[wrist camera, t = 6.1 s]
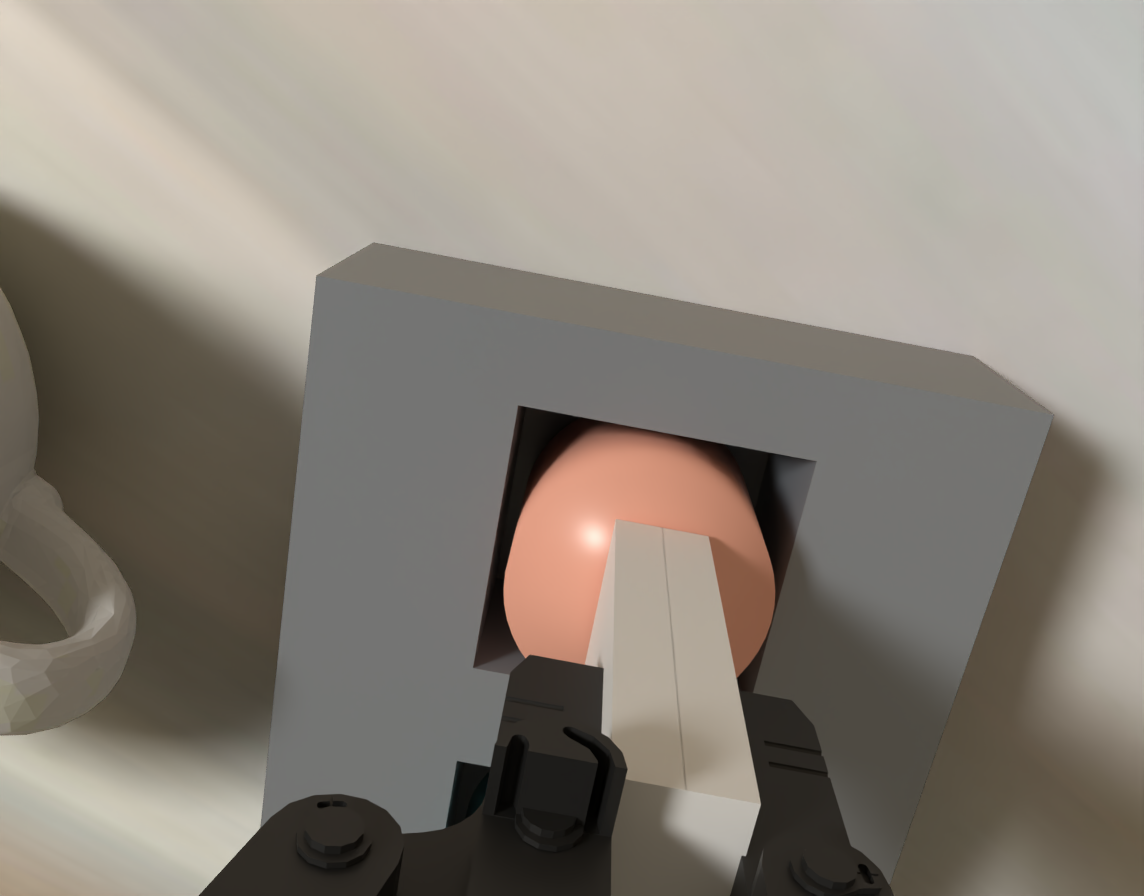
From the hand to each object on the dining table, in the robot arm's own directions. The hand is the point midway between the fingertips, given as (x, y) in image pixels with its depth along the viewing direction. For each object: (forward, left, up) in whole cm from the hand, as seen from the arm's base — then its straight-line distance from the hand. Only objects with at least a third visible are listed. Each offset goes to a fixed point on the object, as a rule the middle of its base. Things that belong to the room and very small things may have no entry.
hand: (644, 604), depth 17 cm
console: (0, -7, -5) cm, 9 cm away
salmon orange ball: (0, 0, -4) cm, 4 cm away
